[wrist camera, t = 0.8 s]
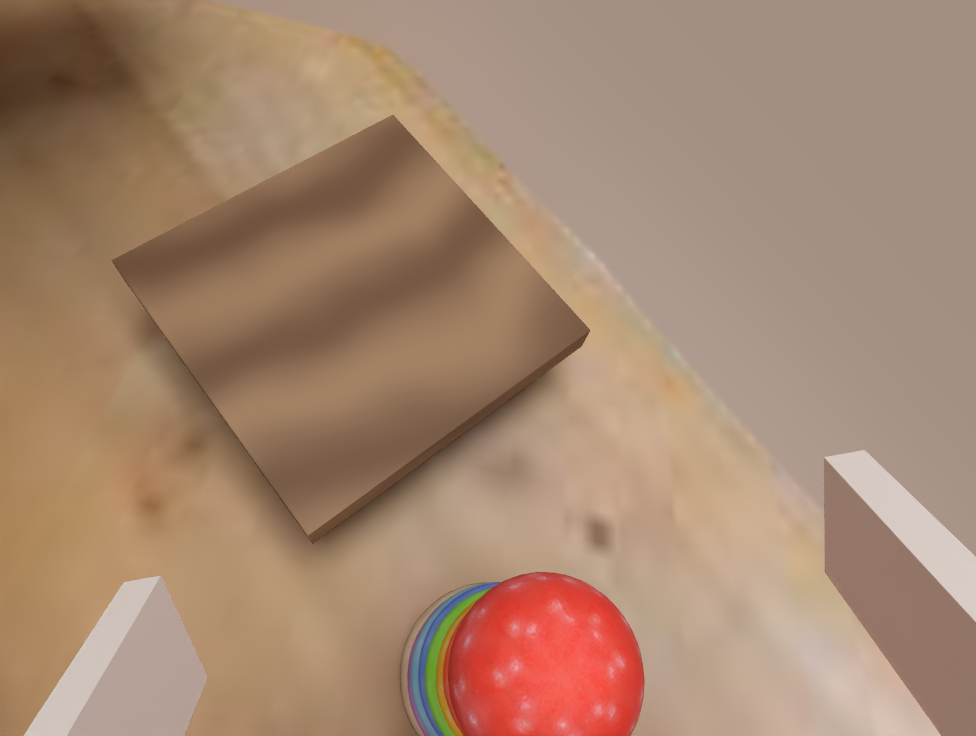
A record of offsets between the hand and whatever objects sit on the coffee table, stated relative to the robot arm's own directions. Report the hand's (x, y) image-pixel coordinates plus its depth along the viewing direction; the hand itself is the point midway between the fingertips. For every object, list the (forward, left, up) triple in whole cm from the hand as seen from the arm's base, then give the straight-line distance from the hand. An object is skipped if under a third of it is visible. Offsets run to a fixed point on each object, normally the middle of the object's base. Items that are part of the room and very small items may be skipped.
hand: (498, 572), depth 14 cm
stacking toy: (+3, +1, -22) cm, 22 cm away
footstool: (-14, +6, -22) cm, 27 cm away
